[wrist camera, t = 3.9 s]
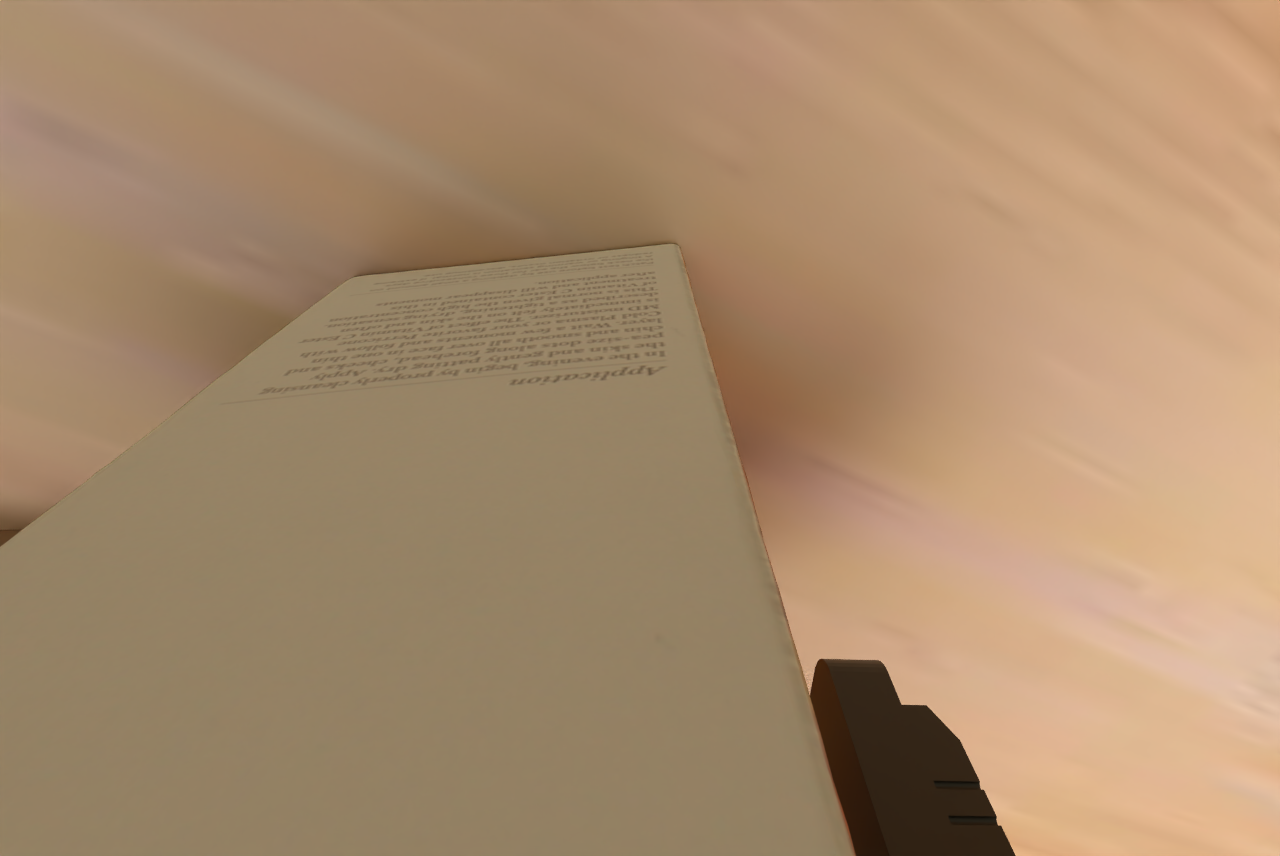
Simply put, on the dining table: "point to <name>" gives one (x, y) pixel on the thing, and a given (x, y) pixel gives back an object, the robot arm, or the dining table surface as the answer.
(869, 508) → the dining table surface
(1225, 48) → the dining table surface
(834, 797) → the small box
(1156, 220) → the dining table surface
